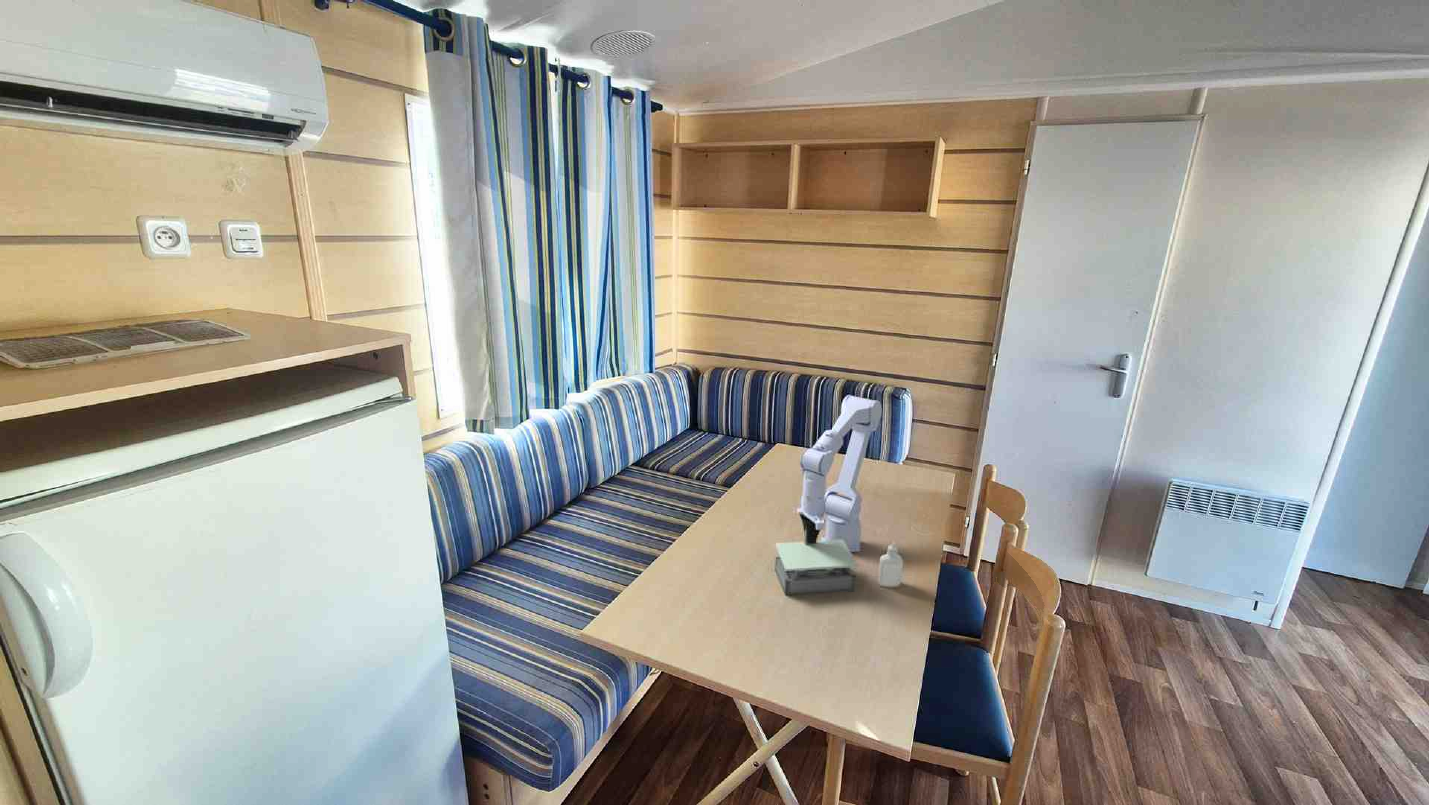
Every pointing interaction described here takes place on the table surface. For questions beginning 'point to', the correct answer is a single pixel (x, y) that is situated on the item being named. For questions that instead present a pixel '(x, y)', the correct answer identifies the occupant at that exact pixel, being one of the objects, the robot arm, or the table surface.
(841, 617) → the table surface
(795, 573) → the parts tub
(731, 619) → the table surface
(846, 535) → the robot arm
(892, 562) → the eye dropper bottle
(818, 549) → the tub lid
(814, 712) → the table surface
